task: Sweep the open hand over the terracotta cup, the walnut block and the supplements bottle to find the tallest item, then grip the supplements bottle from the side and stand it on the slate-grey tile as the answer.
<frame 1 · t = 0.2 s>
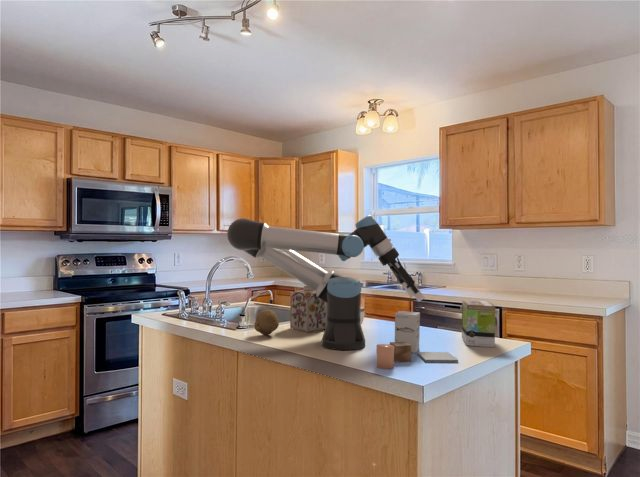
hand: (417, 297, 170), 15 cm above the table, tool tilted 35°, fingers open, 13 cm apart
tea box: (477, 343, 164), on the table
lidded bowl: (349, 329, 188), on the table
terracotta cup: (385, 366, 129), on the table
supplement box: (407, 350, 150), on the table
decorative jar: (309, 329, 186), on the table
natural sponge: (267, 336, 171), on the table
slate tile: (437, 358, 139), on the table
walnut block: (400, 360, 137), on the table
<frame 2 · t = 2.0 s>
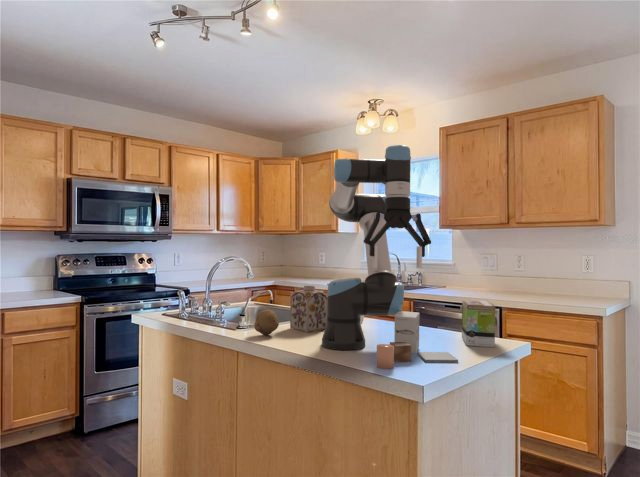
hand: (397, 268, 134), 28 cm above the table, tool pointing down, fingers open, 13 cm apart
supplement box: (407, 350, 150), on the table, touching arm
everything else where it was.
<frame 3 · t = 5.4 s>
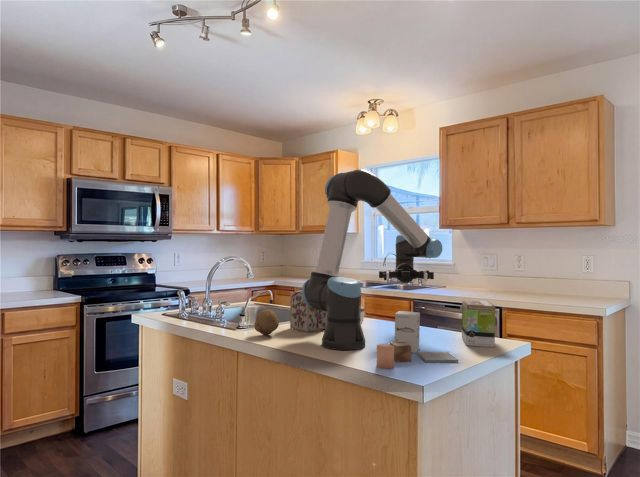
hand: (406, 276, 160), 24 cm above the table, tool horizontal, fingers open, 13 cm apart
supplement box: (407, 350, 150), on the table
everything else where it was.
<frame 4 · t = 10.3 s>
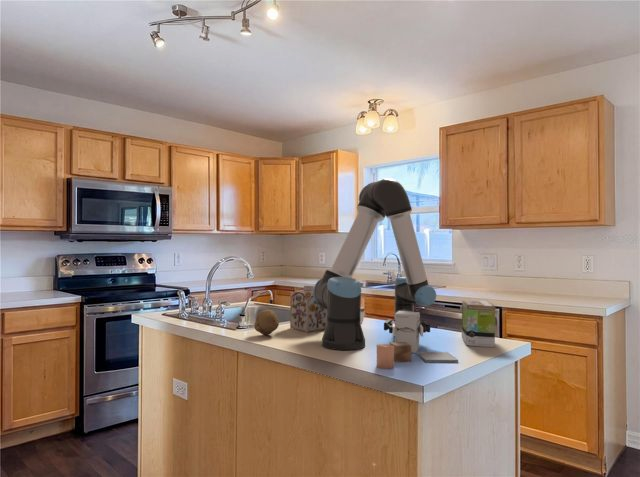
hand: (407, 331, 146), 7 cm above the table, tool horizontal, fingers closed on supplement box, 8 cm apart
supplement box: (407, 350, 150), on the table, touching gripper
everything else where it was.
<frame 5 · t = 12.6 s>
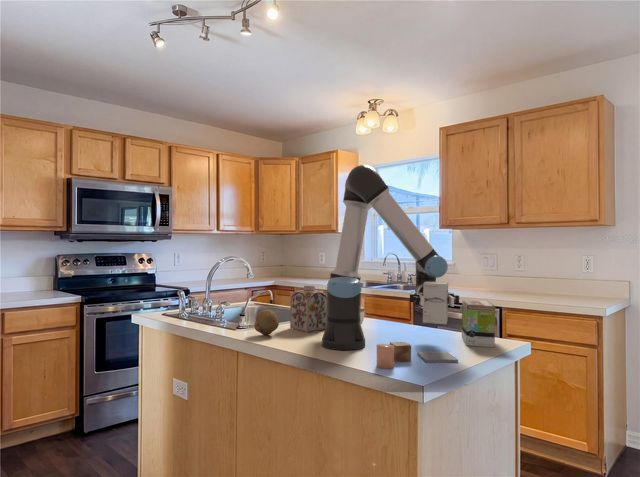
hand: (437, 301, 137), 18 cm above the table, tool horizontal, fingers closed on supplement box, 8 cm apart
supplement box: (435, 322, 142), point 11 cm above the table, touching gripper
everything else where it was.
when the fingers open (9 cm above the table, at t = 14.9 s): supplement box drops 1 cm, resting on slate tile.
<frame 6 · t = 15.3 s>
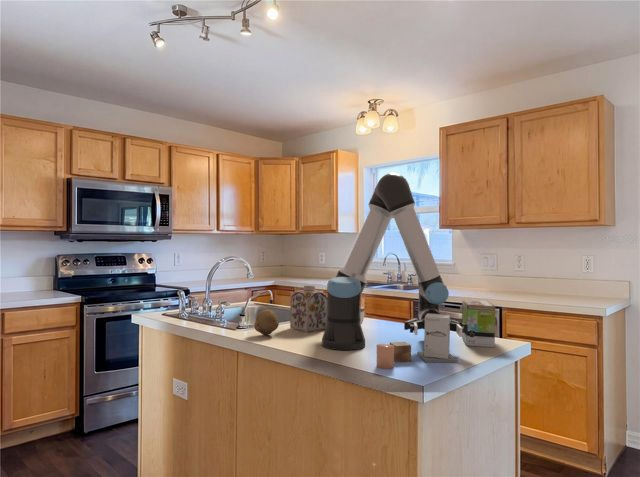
hand: (438, 331, 136), 9 cm above the table, tool horizontal, fingers open, 13 cm apart
supplement box: (436, 356, 140), point 1 cm above the table, touching slate tile
everything else where it was.
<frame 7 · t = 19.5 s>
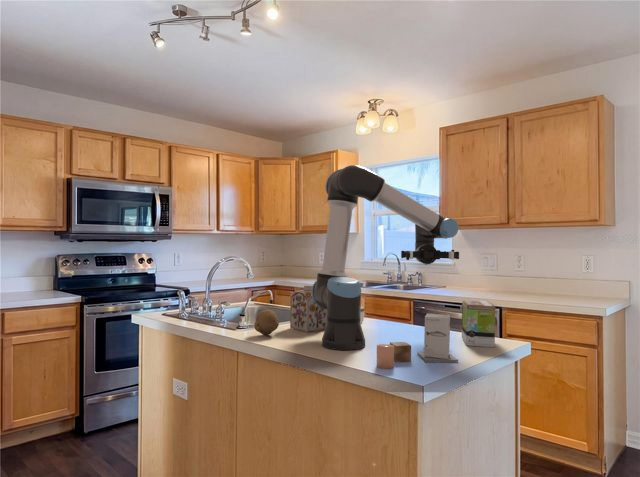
hand: (432, 255, 152), 32 cm above the table, tool horizontal, fingers open, 13 cm apart
nothing on the table moved.
at the end: supplement box inside the target area on the slate tile (0.1 cm from its centre), point 0.6 cm above the slate tile's base; supplement box tilted 0°; the gripper is holding nothing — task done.
